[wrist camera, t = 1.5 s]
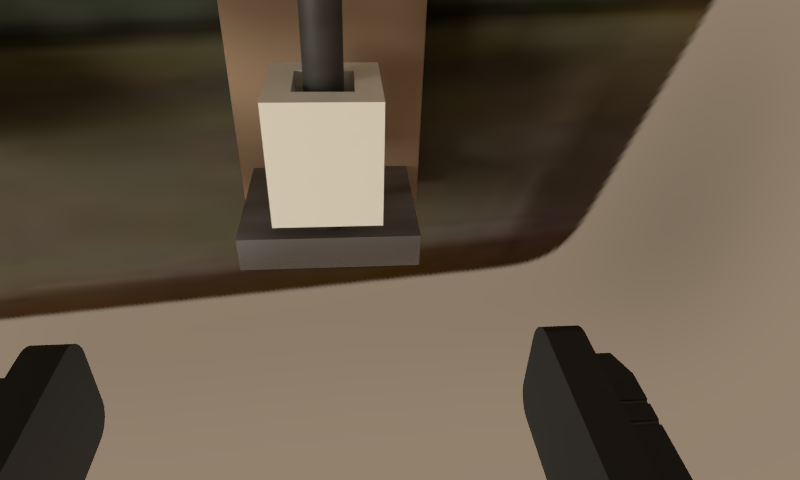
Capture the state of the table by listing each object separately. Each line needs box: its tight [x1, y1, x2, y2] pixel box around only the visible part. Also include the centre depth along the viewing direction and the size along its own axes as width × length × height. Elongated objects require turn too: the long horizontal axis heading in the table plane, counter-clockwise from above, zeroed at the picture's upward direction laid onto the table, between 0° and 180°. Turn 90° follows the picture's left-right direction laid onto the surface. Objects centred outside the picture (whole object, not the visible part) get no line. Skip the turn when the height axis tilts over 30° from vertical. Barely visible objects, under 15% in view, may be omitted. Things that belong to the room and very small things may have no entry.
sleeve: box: [258, 62, 385, 228], centre depth 18 cm, size 4×3×3 cm
